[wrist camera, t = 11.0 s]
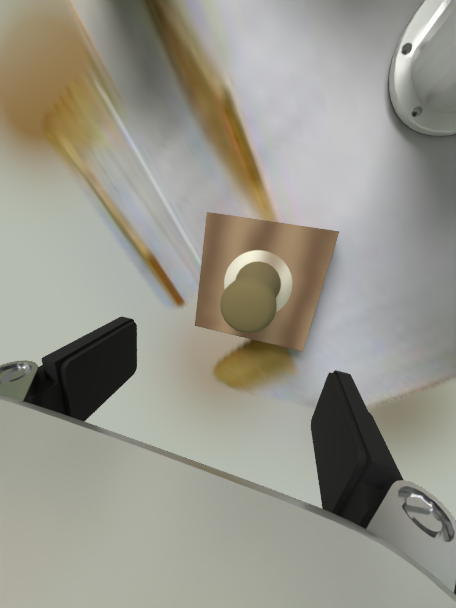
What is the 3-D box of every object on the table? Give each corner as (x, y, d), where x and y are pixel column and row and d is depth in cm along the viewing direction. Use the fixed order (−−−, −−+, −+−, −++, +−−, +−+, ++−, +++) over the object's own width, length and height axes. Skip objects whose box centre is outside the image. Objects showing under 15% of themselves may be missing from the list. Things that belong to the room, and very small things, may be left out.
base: (333, 231, 28) (339, 231, 25) (300, 341, 33) (302, 351, 30) (213, 214, 30) (206, 212, 27) (201, 318, 36) (194, 325, 33)
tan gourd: (269, 313, 30) (263, 354, 19) (228, 295, 30) (202, 326, 20) (289, 272, 27) (294, 294, 17) (245, 254, 28) (225, 264, 18)
